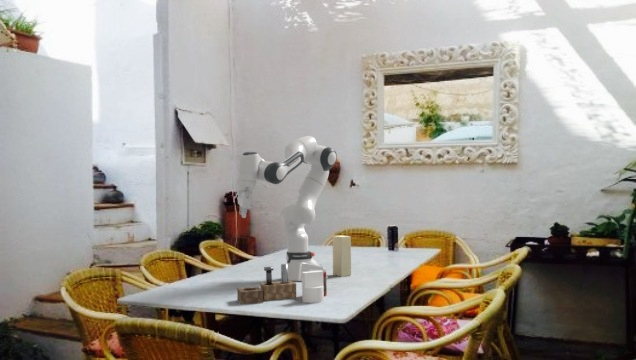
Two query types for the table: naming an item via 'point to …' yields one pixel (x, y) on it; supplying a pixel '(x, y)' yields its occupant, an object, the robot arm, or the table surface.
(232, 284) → the table surface
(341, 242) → the tall beige block
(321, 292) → the cylinder with rectangular tab
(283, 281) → the grey peg
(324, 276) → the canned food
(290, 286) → the socket block
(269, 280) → the grey headed bolt
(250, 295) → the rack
